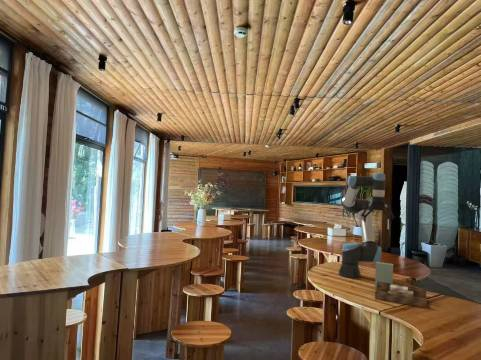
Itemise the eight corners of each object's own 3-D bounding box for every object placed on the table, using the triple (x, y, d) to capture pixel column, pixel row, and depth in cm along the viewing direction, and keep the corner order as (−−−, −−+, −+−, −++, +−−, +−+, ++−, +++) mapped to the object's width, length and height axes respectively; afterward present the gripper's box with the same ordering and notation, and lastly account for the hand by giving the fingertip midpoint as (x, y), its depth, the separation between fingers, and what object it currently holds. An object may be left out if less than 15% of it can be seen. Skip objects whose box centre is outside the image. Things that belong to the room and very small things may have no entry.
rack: (374, 298, 195) (375, 287, 195) (377, 291, 208) (377, 281, 208) (426, 308, 183) (427, 295, 183) (425, 300, 197) (425, 288, 197)
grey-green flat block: (374, 287, 217) (375, 262, 217) (375, 286, 219) (376, 261, 219) (392, 290, 213) (393, 264, 213) (392, 289, 215) (393, 264, 215)
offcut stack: (387, 297, 194) (388, 286, 194) (388, 294, 199) (388, 284, 200) (413, 301, 188) (413, 290, 188) (413, 298, 194) (413, 288, 194)
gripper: (358, 195, 231) (356, 226, 230) (398, 197, 220) (397, 230, 219) (359, 195, 237) (358, 225, 237) (399, 197, 226) (397, 229, 226)
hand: (377, 228), depth 228 cm, fingers open, 13 cm apart
